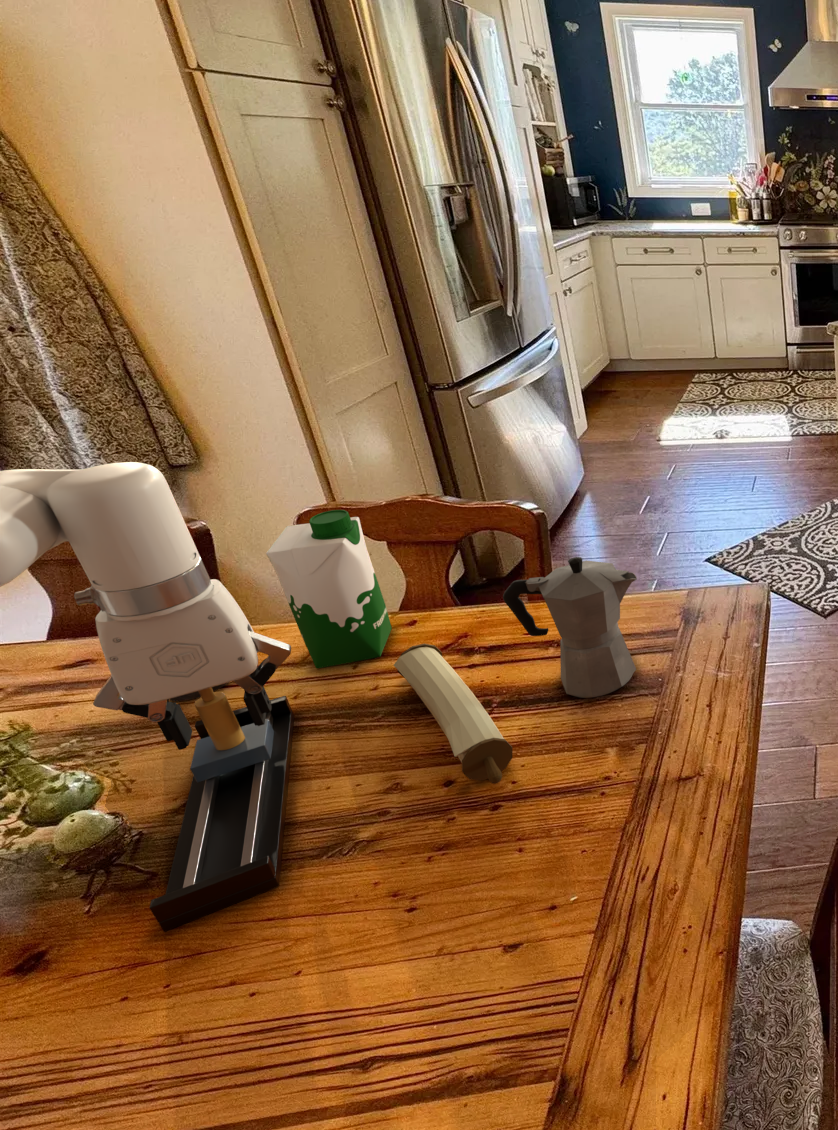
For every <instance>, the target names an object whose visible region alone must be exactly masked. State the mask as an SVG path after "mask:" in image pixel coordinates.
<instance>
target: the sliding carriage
mask: <svg viewBox="0 0 838 1130" xmlns="http://www.w3.org/2000/svg"><path fill="white" fill-rule="evenodd" d="M198 692H199V694H200V696H201V697H198V698H197V699H196V700H195V702H194V707H195V709H196V711H197V713H198V716H199V717H200V720H202V721H203V723H204V726H205V728H206V730H207V732H208V734H209V737H206V738H202V739H201V738H199V739H197V740H196V743H195V747H194V750H193V756H192V758H191V763H190V771H191V774H192V776H193V775H194V777H195V779H196V781H197V782H201V781H204V780H207V779H210V778H213V777H216V776H219V775H222V774H225V773H228V772H231V771H235V770H238V769H241V768H244V767H247V766H250V765H253V764H256V763H259V762H262V761H265V760H269V759H271V753H272V744H273V736H274V731H273V728H272V726H271V724H270V722H269V720H268V719H266V720H265V724H264V725H261V726H258V725H256V726H255V724H254V723H252V724H249V725H246V726H242V727H240V725H239V723H238V721H237V719H236V716H235V714H234V712H233V711H234V710H233V707H232V706H231V704H230V702H229V700H228V697H227V696H226V693H225V692H223V691H214V692H213V689H212V687H211V688H207V689H203V690H200V691H198Z"/></svg>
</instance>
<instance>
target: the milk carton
mask: <svg viewBox="0 0 838 1130" xmlns="http://www.w3.org/2000/svg"><path fill="white" fill-rule="evenodd" d="M308 521H309V522H308V523H300V524H294V525H287V526H285V528H284V529H283V530H282V532H281V533H280V534H279V535H278V537H276V539H275V541H274V542H273V543H272V544H271V545H270V547H269V548H268V550H267V551H266V552H265V555H266V556H267V558H268V560H269V562H270V564H271V566H272V568H273V570H274V572H275V573H276V575H277V578H278V580H279V583H280V586H281V588H282V590H283V594H284V596H285V598H286V600H287V603H288V605H289V608H290V610H291V613H292V616H293V618H294V621H295V623H296V625H297V628H298V630H299V633H300V636H301V638H302V640H303V642H304V645H305V646H306V649H307V651H308V654H309V655H310V658H311V660H312V663H313V665H314V667H315V669H317V670H318V669H323V668H328V667H334V666H339V665H346V664H350V663H355V662H360V661H366V660H371V659H377V658H381V656H382V654H383V651H384V648H385V647H386V645H387V641H388V639H389V637H390V634H391V631H392V629H393V628H392V624H391V621H390V616H389V612H388V608H387V605H386V602H385V599H384V596H383V593H382V591H381V587H380V584H379V581H378V579H377V575H376V571H375V568H374V566H373V562H372V561H371V560H372V559H371V557H370V553H369V551H368V548H367V544H366V541H365V536H364V533H363V529H362V524H361V520H360V517H359V516H352V517H350V513H349V511H347V510H345V509H332V510H326V511H323V512H320V513H317V514H315V515H313V516H312V517H310V518H309V520H308Z"/></svg>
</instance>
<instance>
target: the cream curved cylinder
mask: <svg viewBox="0 0 838 1130" xmlns="http://www.w3.org/2000/svg"><path fill="white" fill-rule="evenodd" d="M393 667H394V668H395V669H396V671H397V673H398V674H399V675H401V676H402V677H403V678H404V679H405V680H406V682H407V683H408V684H409V685H410V687H411V688H412V689H413V690H414V692H415V693H416V694H417V695H418V697H419V698H420V700H421V702H423V704H424V706H425V707H426V708H427V710H428V711H429V712H430V714H431V715H432V716H433V718H434V719H435V722H437V724H438V725H439V727H440V729H441V730H442V732H443V733H444V735H445V736H446V738H447V740H448V742H449V745H450V747H451V748H450V749H451V751H452V754H453V756H454V757H455V758H457V757H458V759H459V761H460V763H461V772H462V775H464V776H466V777H467V779H469V780H472V781H485V780H487V779H488V781H489V782H490V783H491V784H493V785H496V784H499V783H500V782H501V781H502V779H503V773H502V772H503V771H504V770H506V769H507V767H508V766H509V764H510V763H511V761H512V759H513V749H514V748H513V746H512V745H511V743H509V742H508V740H507V739H505V738H504V736H503V734H502V733H501V731H500V730H499V728H498V727H497V725H496V723H495V722H494V721H493V719H492V717H491V716H490V715H489V713H488V711H487V710H486V709H485V707H484V706H483V705H482V703H481V702H480V701H479V699H478V698H477V697H476V695H475V694H474V693H473V691H472V689H470V688H469V686H468V685H467V684H466V683H465V681H464V680H463V679H462V678H461V676H460V675H459V674H458V673H457V672H456V670H455V669H454V668H453V667H452V666H451V665H450V664H449V662H448V661H447V660H446V659H445V658H444V657H443V652H442V651H441V650H440V649H439V648H438V647H437V646H436V645H434V644H430V643H424V642H423V643H420V644H416V645H412V646H410V647H409V648H408V649H405V650H404V651H403V652H401V654H400V656H399V657H398V658H397V660H396V661H395V662H394V663H393Z"/></svg>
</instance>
